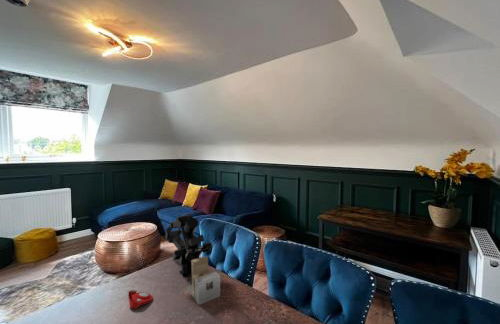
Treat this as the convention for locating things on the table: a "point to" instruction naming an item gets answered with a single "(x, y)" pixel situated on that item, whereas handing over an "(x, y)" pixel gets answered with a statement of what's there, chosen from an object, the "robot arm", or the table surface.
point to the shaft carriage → (199, 269)
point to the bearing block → (206, 288)
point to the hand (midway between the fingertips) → (197, 268)
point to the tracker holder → (138, 298)
